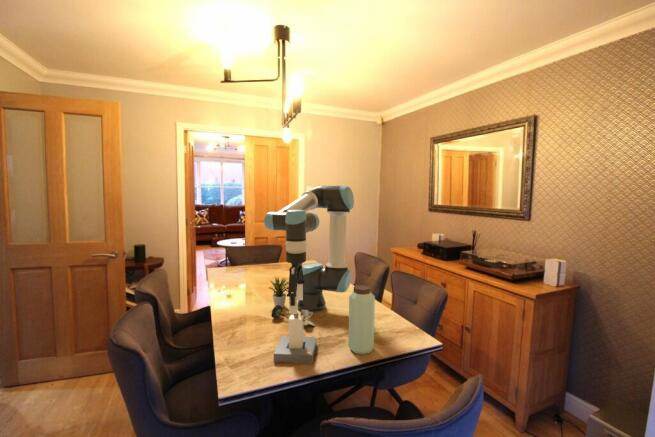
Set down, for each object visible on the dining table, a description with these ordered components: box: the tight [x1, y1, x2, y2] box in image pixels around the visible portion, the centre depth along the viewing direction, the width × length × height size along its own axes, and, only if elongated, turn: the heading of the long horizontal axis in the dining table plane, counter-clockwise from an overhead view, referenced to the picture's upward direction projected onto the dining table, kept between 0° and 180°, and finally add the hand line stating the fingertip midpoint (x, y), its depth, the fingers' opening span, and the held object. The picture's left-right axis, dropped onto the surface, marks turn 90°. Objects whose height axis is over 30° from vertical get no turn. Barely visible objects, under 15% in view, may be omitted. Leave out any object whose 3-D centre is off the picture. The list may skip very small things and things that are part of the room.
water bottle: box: [348, 284, 376, 355], centre depth 122 cm, size 10×10×25 cm
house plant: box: [267, 276, 289, 308], centre depth 166 cm, size 14×14×16 cm
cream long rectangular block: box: [288, 311, 304, 349], centre depth 120 cm, size 4×5×16 cm
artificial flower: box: [270, 305, 316, 327], centre depth 148 cm, size 9×22×10 cm, turn 55°
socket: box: [273, 335, 317, 364], centre depth 120 cm, size 14×14×3 cm
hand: (296, 306), depth 119 cm, fingers open, 13 cm apart
